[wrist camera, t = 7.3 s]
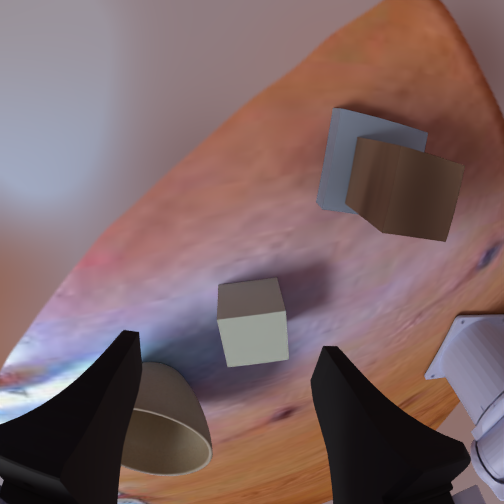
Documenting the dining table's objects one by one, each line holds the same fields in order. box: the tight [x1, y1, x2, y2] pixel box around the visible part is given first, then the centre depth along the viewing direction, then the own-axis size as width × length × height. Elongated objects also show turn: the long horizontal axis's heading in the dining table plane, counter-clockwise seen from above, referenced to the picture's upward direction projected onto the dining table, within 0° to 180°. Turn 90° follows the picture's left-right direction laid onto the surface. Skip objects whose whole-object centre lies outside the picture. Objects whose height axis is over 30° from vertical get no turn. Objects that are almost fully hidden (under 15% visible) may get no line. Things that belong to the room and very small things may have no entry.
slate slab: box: [316, 108, 428, 214], centre depth 19 cm, size 6×6×2 cm
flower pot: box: [121, 362, 213, 476], centre depth 23 cm, size 10×10×7 cm
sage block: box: [217, 277, 289, 367], centre depth 21 cm, size 4×4×4 cm
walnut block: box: [345, 137, 465, 242], centre depth 16 cm, size 4×4×5 cm
